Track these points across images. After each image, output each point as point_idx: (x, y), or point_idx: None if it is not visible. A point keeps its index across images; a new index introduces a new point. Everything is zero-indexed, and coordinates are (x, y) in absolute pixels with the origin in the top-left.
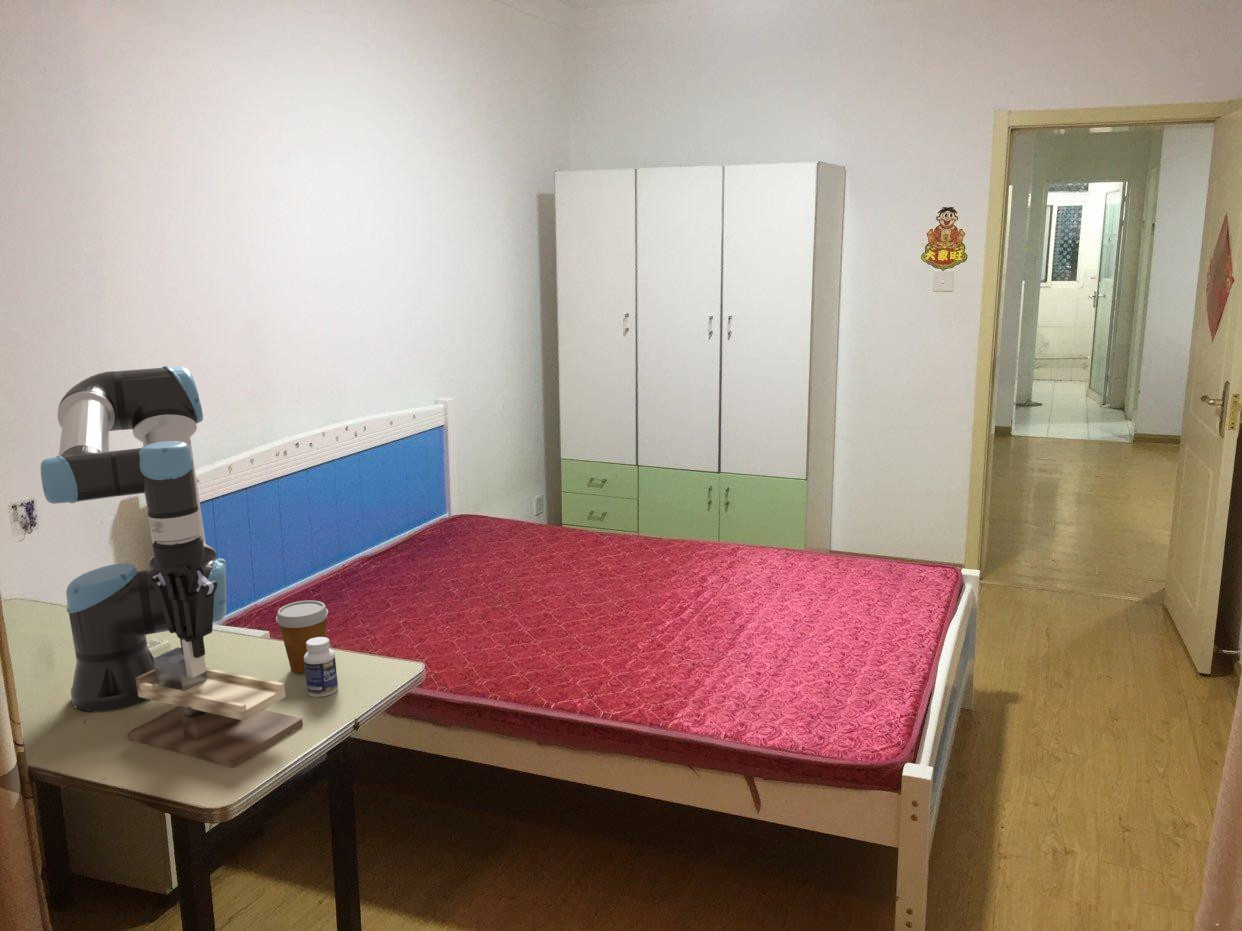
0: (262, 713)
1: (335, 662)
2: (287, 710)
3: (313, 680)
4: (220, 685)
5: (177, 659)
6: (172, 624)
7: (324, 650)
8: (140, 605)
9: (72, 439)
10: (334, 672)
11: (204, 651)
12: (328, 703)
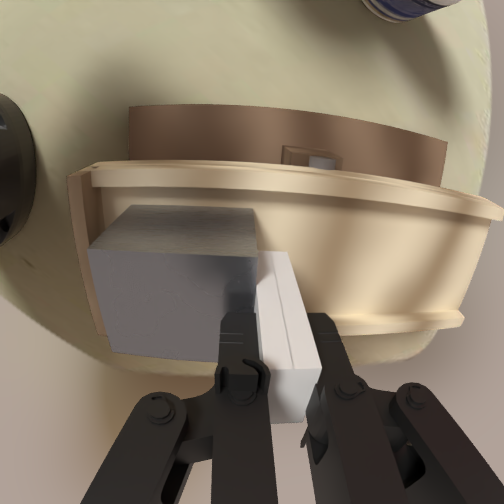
0: (362, 136)
1: None
2: (377, 83)
3: (414, 14)
4: (332, 230)
5: (209, 342)
6: (183, 482)
7: None
8: None
9: None
10: None
11: (334, 327)
12: (431, 46)
